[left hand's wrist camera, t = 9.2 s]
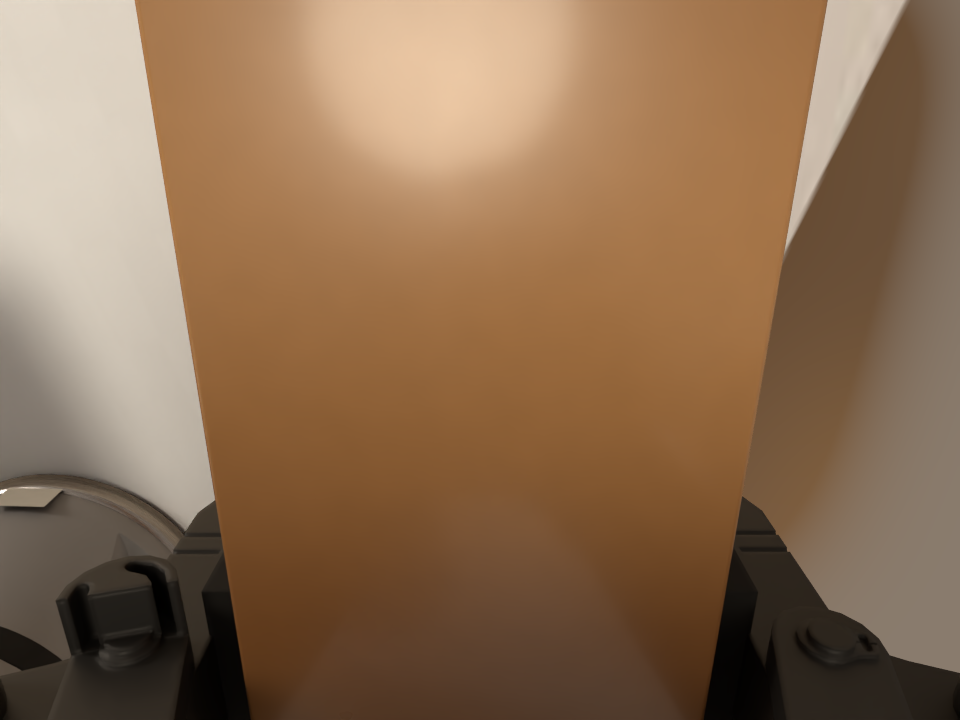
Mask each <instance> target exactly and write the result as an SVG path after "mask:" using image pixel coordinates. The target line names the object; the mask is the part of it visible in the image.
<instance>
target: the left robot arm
mask: <svg viewBox="0 0 960 720" xmlns="http://www.w3.org/2000/svg"><path fill="white" fill-rule="evenodd" d="M775 532H776V531H775V529H774V528H773V526H772V525H771V523H770V522H769V520H768V519H767V517H766V516H765V514H764V513H763V511H762V510H760V509H759V508H757V507H756V506H755V505H753V504H752V503H751V502H749V501H748V500H747V499H745V498H744V497H742V499H741V505H740V511H739V517H738V523H737V528H736V534H735V540H734V546H733V552H732V557H731V563H730V569H729V575H728V581H727V586H726V592H725V598H724V604H723V610H722V615H721V621H720V627H719V633H718V639H717V644H716V650H715V656H714V662H713V667H712V673H711V679H710V685H709V691H708V696H707V702H706V708H705V714H704V720H960V673H957V672H953V671H948V670H944V669H940V668H936V667H931V666H927V665H923V664H919V663H914V662H910V661H906V660H903V659H900V658H896V657H893V656H890V655H889V654H888V652H887V651H886V649H885V648H884V646H883V644H882V643H881V641H880V640H879V638H877V637H876V636H875V635H874V634H873V633H872V632H870V631H869V630H868V629H867V628H866V627H865V626H863V625H862V624H860V623H859V622H857V621H855V620H853V619H851V618H849V617H847V616H845V615H843V614H841V613H838V612H834V611H831V610H829V609H828V608H827V607H826V605H825V604H824V602H823V601H822V599H821V598H820V596H819V595H818V593H817V592H816V590H815V589H814V587H813V586H812V584H811V583H810V581H809V580H808V578H807V577H806V575H805V574H804V572H803V571H802V569H801V568H800V566H799V565H798V564H797V562H796V561H795V559H794V558H793V556H792V555H791V553H790V552H787V547H786V546H785V544H784V543H783V541H782V540H781V538H780V537H779V535H776V533H775ZM184 534H185V535H184ZM184 534H183V533H182V532H181V531H180V530H179V529H178V528H177V527H176V526H175V525H174V524H173V523H172V522H171V521H170V520H168V519H167V518H166V517H165V516H164V515H162V514H161V513H160V512H159V511H157V510H156V509H154V508H153V507H151V506H150V505H148V504H147V503H145V502H143V501H142V500H140V499H138V498H137V497H135V496H133V495H131V494H129V493H127V492H125V491H122V490H120V489H118V488H115V487H112V486H110V485H107V484H104V483H101V482H97V481H94V480H90V479H85V478H81V477H75V476H68V475H55V474H43V475H30V476H22V477H18V478H13V479H9V480H6V481H3V482H0V720H251V718H250V712H249V705H248V699H247V693H246V687H245V680H244V674H243V668H242V662H241V656H240V649H239V643H238V637H237V631H236V625H235V618H234V612H233V606H232V600H231V594H230V587H229V581H228V575H227V569H226V563H225V556H224V550H223V544H222V538H221V532H220V525H219V519H218V513H217V507H216V501H214V502H212V503H211V504H210V505H208V506H207V507H205V508H204V509H203V510H201V511H200V512H199V513H198V514H197V515H196V517H195V518H194V520H193V521H192V523H191V524H190V526H189V527H188V529H187V530H186V532H185V533H184Z"/></svg>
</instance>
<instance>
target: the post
mask: <svg viewBox="0 0 960 720" xmlns="http://www.w3.org/2000/svg"><path fill="white" fill-rule="evenodd" d="M827 1H828V0H135V5H136V11H137V17H138V23H139V29H140V36H141V42H142V48H143V54H144V60H145V67H146V73H147V79H148V85H149V91H150V98H151V104H152V110H153V116H154V122H155V129H156V135H157V141H158V147H159V153H160V160H161V166H162V172H163V178H164V184H165V191H166V197H167V203H168V209H169V215H170V222H171V228H172V234H173V240H174V246H175V253H176V259H177V265H178V271H179V277H180V284H181V290H182V296H183V302H184V308H185V315H186V321H187V327H188V333H189V339H190V346H191V352H192V358H193V364H194V370H195V377H196V383H197V389H198V395H199V401H200V408H201V414H202V420H203V426H204V432H205V439H206V445H207V451H208V457H209V463H210V470H211V476H212V482H213V488H214V494H215V501H216V507H217V513H218V519H219V525H220V532H221V538H222V544H223V550H224V556H225V563H226V569H227V575H228V581H229V587H230V594H231V600H232V606H233V612H234V618H235V625H236V631H237V637H238V643H239V649H240V656H241V662H242V668H243V674H244V680H245V687H246V693H247V699H248V705H249V712H250V718H251V720H704V714H705V708H706V702H707V696H708V691H709V685H710V679H711V673H712V667H713V662H714V656H715V650H716V644H717V639H718V633H719V627H720V621H721V615H722V610H723V604H724V598H725V592H726V586H727V581H728V575H729V569H730V563H731V557H732V552H733V546H734V540H735V534H736V528H737V523H738V517H739V511H740V505H741V499H742V494H743V488H744V482H745V476H746V470H747V464H748V459H749V453H750V447H751V441H752V436H753V429H754V424H755V418H756V412H757V407H758V401H759V395H760V389H761V383H762V378H763V371H764V366H765V360H766V354H767V349H768V343H769V337H770V331H771V326H772V320H773V314H774V308H775V302H776V296H777V291H778V285H779V279H780V273H781V268H782V262H783V256H784V250H785V244H786V239H787V233H788V227H789V221H790V215H791V210H792V204H793V198H794V192H795V186H796V181H797V175H798V169H799V163H800V157H801V152H802V146H803V140H804V134H805V128H806V123H807V117H808V111H809V105H810V99H811V94H812V88H813V82H814V76H815V71H816V65H817V59H818V53H819V47H820V42H821V36H822V30H823V24H824V18H825V13H826V7H827Z"/></svg>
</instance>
